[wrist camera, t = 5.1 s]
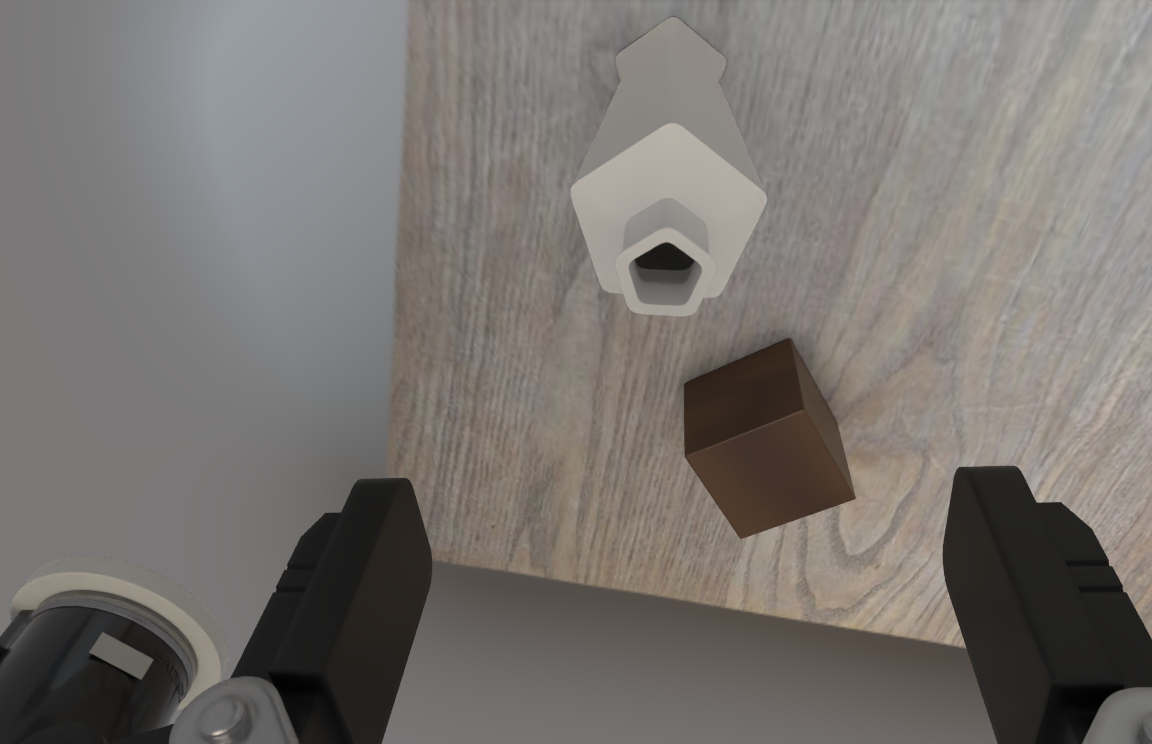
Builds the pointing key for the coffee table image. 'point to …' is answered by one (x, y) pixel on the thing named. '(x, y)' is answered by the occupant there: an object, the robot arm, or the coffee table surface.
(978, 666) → the robot arm
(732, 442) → the walnut block
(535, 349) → the coffee table surface
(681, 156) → the perfume bottle
